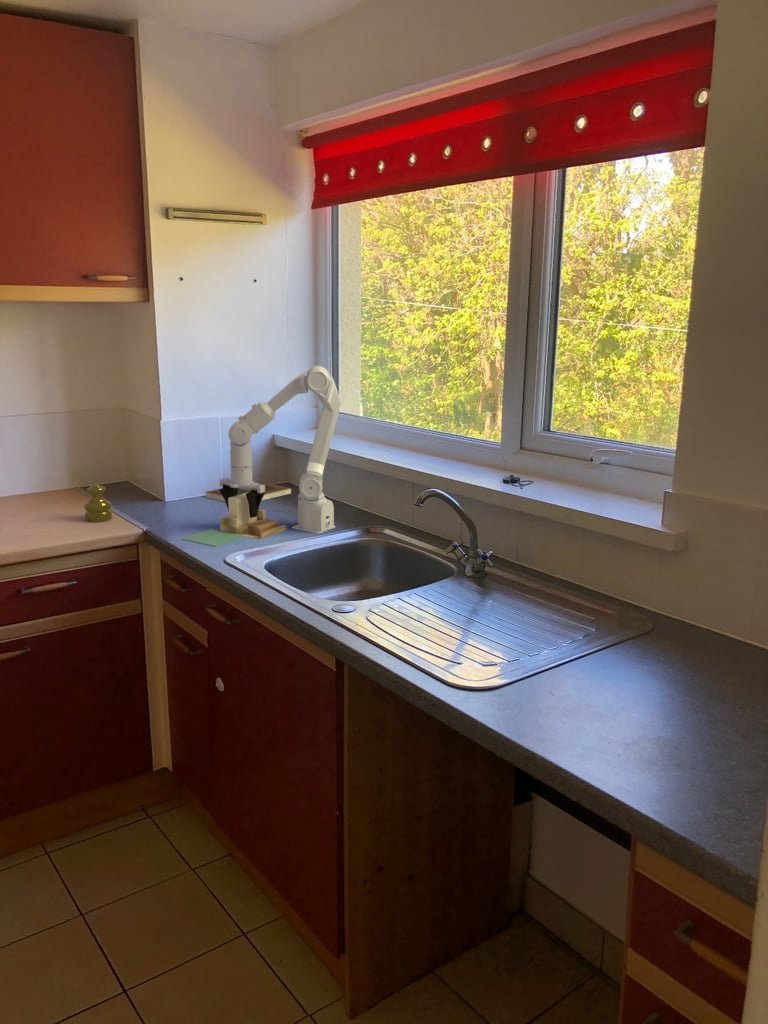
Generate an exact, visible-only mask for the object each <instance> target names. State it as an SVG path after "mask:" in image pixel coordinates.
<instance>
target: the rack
mask: <svg viewBox="0 0 768 1024" xmlns="http://www.w3.org/2000/svg"><path fill="white" fill-rule="evenodd" d="M266 516H267V514H266V510H265V509H260V508H259V509H258V513H257V521H254V522H251V523H248V524H245V525H242V526H240V527H239V519H235V518H230V517H229V516H226V515H220V517H219V525H220V530H219V531H224V532H229V533H234V534H239V535H243V536H245V537H247V538H252V539H256V540H262V539H264V538H265V539H266V538H267V537H271V536H273V535H276V534H279V533H280V532H284V531H287V530H288V528H287V527H286V524H283V525H280V526H279V527H277V528H274V529H271V530H268V531H265V532H263V533H260V536H256V535H251V534H248V526H247V525H250V524H253V523H256V522H259V521H262V520H265V519H267V517H266Z"/></svg>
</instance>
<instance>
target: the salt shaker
mask: <svg viewBox="0 0 768 1024" xmlns="http://www.w3.org/2000/svg"><path fill="white" fill-rule="evenodd" d="M106 488H107V487H105V486H103V485H100V484H97V483H96V484H93V485H92V486H90V487H88V488H86V491H87V492H88V493H90V494H91V498H90V499H89V500H88V501H87V502H85V503H84V504H83V509H84V510H85V511H84V519H85V521H87V522H91V523H102V522H107V521H110V520H111V519H113V510H112V509H111V508H112V503H111V502H110V501H109V500H107V499H106V498H104V496H103V493H104V492H105V491H106Z"/></svg>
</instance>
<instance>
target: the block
mask: <svg viewBox="0 0 768 1024" xmlns="http://www.w3.org/2000/svg"><path fill="white" fill-rule="evenodd" d="M247 493H249V492H247ZM228 505H229V511H228V517H230V518H235V519H239V527H240V526H242V525H245V524H248V523H251V522H254V521H257V517H254V518H250V514H249V504H248V500H247V497H246V493H244V494H240V495H237V496H233V497H230V498H228Z"/></svg>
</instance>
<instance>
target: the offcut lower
mask: <svg viewBox="0 0 768 1024" xmlns="http://www.w3.org/2000/svg"><path fill="white" fill-rule="evenodd" d="M277 525H278V526H275V527H273V528H270V529H267V530H264V531H261V532H257V531H252V530H248V534H251V535H256V536H260V533H263V532H265V531H268V530H271V529H274V528H277V527H279V526H281V525H280V524H277Z"/></svg>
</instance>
